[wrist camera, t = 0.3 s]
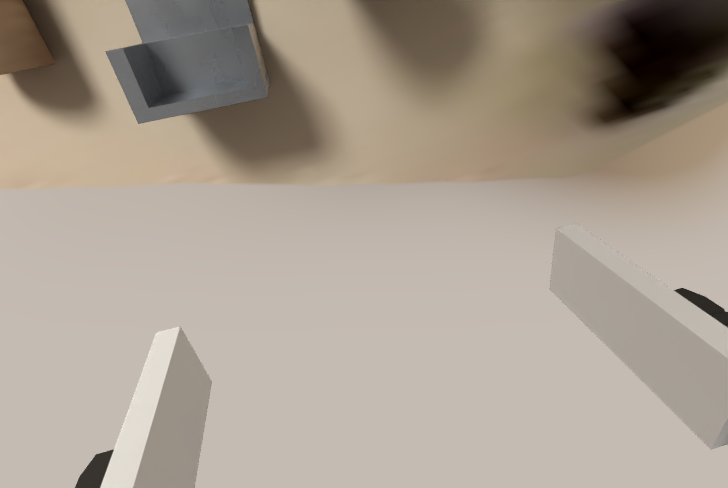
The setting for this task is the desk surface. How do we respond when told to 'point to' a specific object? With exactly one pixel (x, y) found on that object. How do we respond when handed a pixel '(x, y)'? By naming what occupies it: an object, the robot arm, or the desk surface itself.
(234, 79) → the bracket
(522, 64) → the desk surface
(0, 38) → the wooden cylinder
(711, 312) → the robot arm
